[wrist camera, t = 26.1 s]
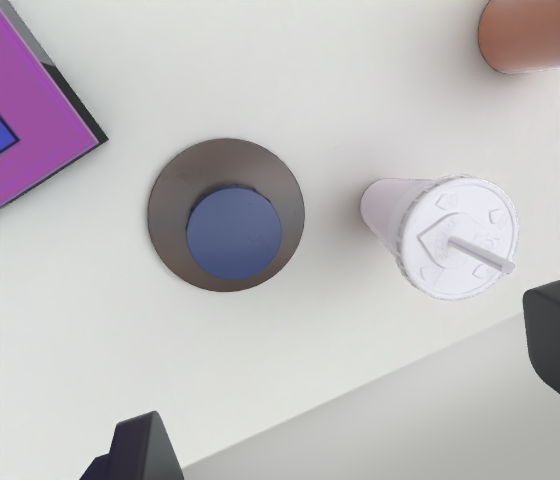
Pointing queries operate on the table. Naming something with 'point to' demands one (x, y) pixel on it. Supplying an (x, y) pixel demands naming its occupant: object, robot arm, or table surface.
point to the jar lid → (233, 232)
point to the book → (36, 113)
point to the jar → (521, 35)
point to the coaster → (210, 174)
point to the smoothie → (444, 231)
